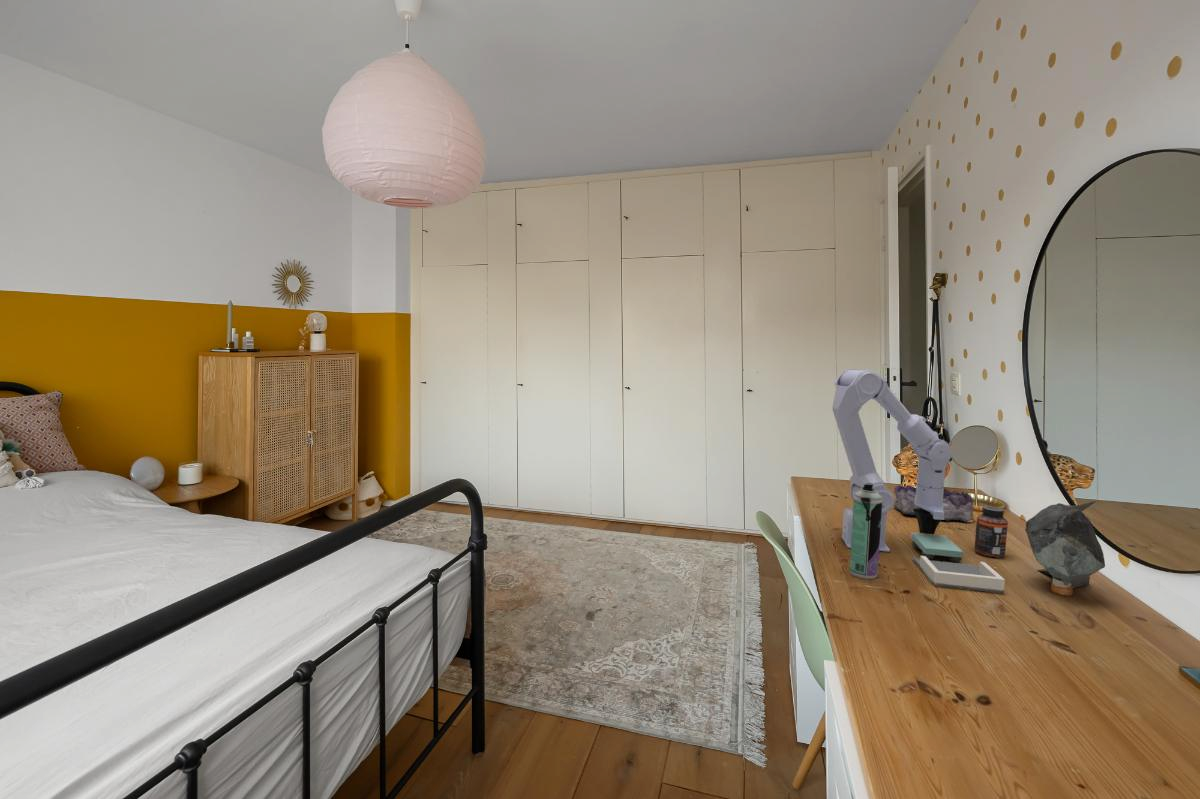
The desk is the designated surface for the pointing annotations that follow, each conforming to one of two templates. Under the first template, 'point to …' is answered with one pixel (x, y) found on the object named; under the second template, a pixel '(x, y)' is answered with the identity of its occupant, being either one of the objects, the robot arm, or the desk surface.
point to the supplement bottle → (991, 532)
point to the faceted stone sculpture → (1065, 546)
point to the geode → (957, 502)
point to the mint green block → (936, 546)
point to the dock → (961, 575)
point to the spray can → (866, 533)
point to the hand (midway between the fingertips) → (926, 538)
